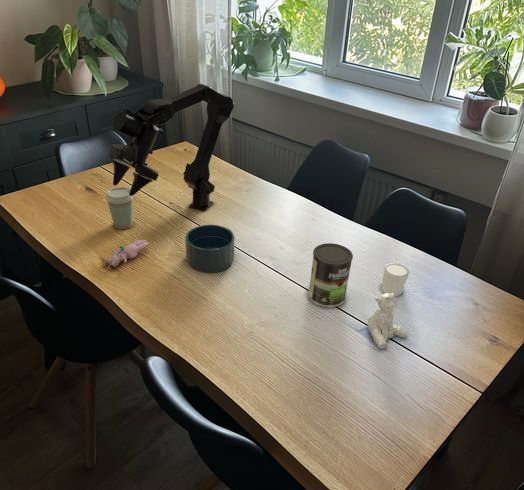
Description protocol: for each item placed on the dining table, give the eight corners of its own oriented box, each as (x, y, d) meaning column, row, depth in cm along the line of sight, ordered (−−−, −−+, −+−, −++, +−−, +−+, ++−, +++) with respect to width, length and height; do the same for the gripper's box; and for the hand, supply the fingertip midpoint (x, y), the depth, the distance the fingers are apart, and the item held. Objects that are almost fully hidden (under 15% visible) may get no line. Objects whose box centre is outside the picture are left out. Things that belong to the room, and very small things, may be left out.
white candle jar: (405, 285, 143) (410, 265, 139) (402, 299, 137) (408, 279, 133) (381, 280, 144) (385, 260, 140) (377, 293, 139) (382, 273, 135)
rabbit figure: (114, 276, 142) (155, 249, 150) (108, 260, 138) (150, 234, 146) (101, 267, 146) (142, 242, 154) (96, 252, 142) (137, 226, 150)
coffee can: (352, 301, 136) (360, 259, 128) (321, 311, 132) (327, 268, 123) (331, 281, 143) (338, 239, 135) (301, 290, 139) (305, 247, 131)
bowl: (201, 242, 157) (200, 220, 152) (241, 253, 153) (242, 231, 148) (177, 265, 146) (176, 242, 141) (221, 278, 142) (220, 254, 137)
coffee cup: (140, 219, 167) (136, 187, 160) (132, 232, 160) (128, 199, 153) (115, 217, 168) (110, 185, 161) (106, 230, 161) (100, 196, 154)
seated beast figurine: (380, 351, 120) (390, 313, 113) (355, 331, 126) (362, 293, 119) (406, 336, 125) (417, 299, 118) (381, 318, 131) (389, 281, 124)
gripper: (104, 124, 148) (84, 172, 150) (139, 142, 137) (117, 194, 139) (133, 137, 157) (114, 182, 159) (168, 155, 146) (147, 204, 148)
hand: (122, 190), depth 151 cm, fingers open, 9 cm apart
